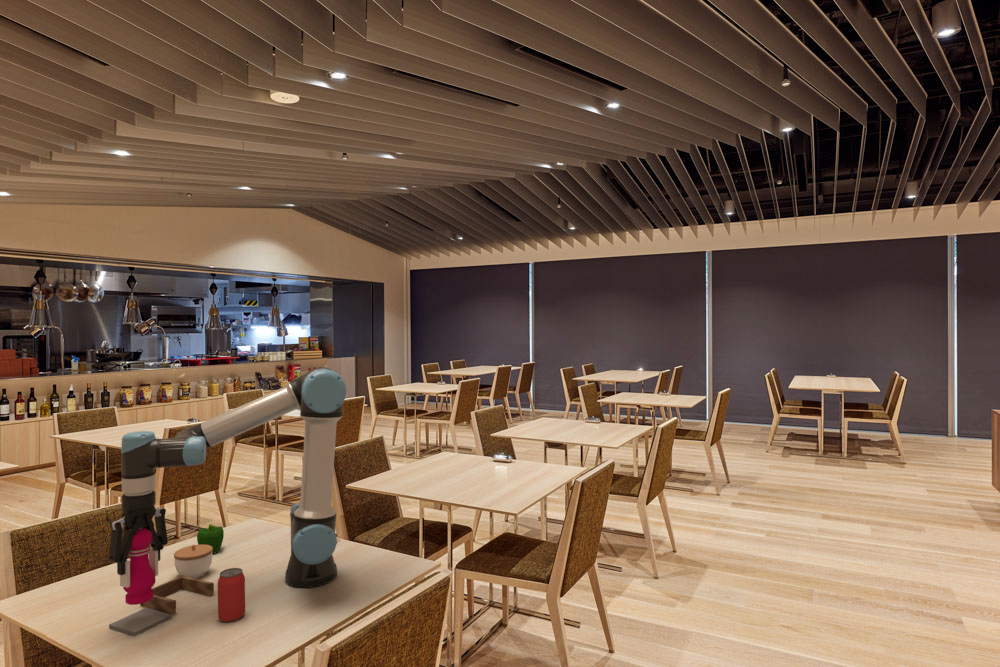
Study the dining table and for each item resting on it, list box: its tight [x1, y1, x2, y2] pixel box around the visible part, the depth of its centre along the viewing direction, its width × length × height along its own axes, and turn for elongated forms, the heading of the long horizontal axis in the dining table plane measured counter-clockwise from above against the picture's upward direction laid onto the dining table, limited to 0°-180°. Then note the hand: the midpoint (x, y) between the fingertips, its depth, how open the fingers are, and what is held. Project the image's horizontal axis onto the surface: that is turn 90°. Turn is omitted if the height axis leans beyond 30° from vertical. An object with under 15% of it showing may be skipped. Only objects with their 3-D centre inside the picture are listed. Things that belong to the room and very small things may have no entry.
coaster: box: [108, 607, 173, 637], centre depth 156 cm, size 10×10×1 cm
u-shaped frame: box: [139, 575, 215, 616], centre depth 169 cm, size 13×13×4 cm
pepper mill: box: [122, 528, 156, 606], centre depth 156 cm, size 7×7×20 cm
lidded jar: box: [173, 544, 213, 579], centre depth 186 cm, size 11×11×9 cm
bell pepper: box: [196, 523, 225, 554], centre depth 206 cm, size 8×8×10 cm
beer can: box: [217, 567, 246, 623], centre depth 159 cm, size 7×7×12 cm
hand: (139, 580), depth 156 cm, fingers closed on pepper mill, 7 cm apart
